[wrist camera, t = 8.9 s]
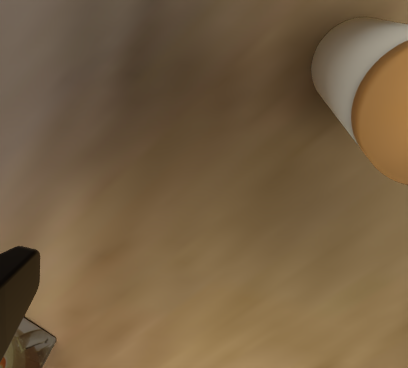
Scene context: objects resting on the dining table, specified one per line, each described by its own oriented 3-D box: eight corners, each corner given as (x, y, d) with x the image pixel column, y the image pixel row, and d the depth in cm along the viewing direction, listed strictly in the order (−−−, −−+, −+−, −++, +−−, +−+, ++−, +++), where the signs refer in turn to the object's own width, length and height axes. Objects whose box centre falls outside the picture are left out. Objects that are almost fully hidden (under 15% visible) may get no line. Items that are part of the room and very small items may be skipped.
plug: (420, 29, 16) (564, 59, 9) (379, 117, 18) (472, 201, 11) (330, 6, 16) (402, 17, 9) (299, 97, 18) (337, 167, 11)
